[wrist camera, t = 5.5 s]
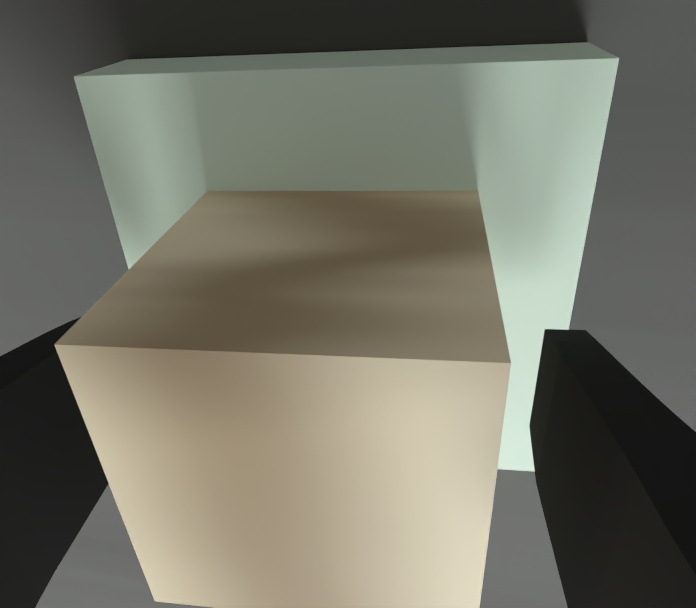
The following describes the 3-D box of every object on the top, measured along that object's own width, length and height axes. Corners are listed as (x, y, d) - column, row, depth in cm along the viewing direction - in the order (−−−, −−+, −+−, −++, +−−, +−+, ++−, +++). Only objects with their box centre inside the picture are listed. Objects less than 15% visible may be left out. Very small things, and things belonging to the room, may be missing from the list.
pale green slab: (588, 42, 10) (618, 58, 8) (529, 413, 15) (541, 472, 13) (127, 59, 11) (73, 76, 10) (206, 397, 16) (179, 448, 14)
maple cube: (478, 190, 10) (512, 362, 6) (461, 406, 12) (476, 635, 8) (207, 190, 10) (53, 344, 6) (245, 394, 13) (155, 600, 9)
